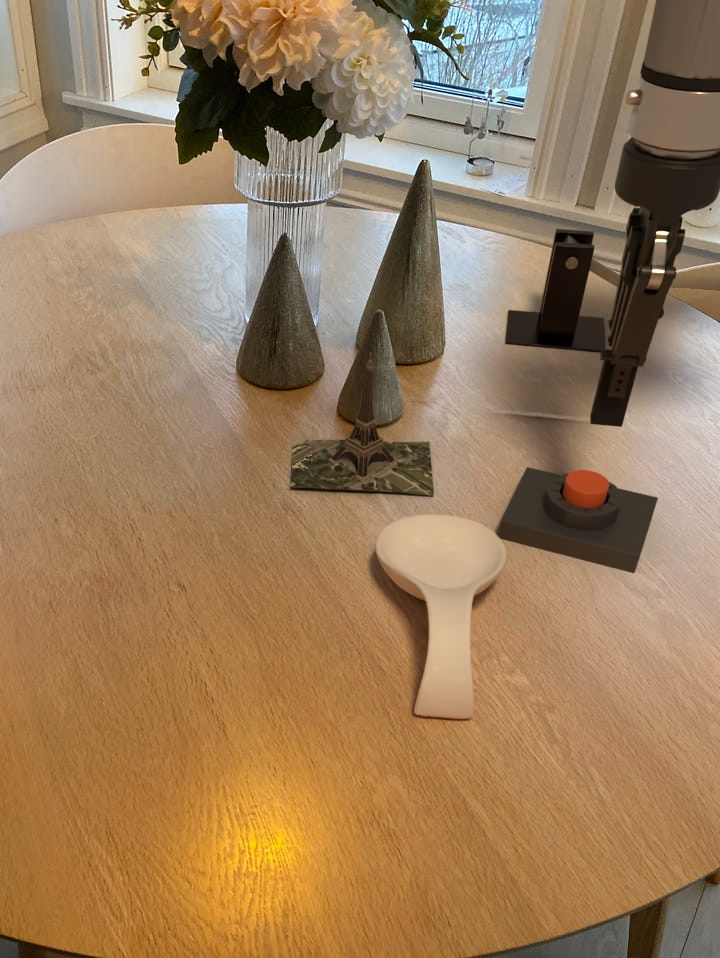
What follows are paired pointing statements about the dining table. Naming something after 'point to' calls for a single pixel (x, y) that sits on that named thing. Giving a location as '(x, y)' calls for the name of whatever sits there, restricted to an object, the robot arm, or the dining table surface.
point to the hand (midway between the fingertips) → (605, 420)
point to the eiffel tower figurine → (363, 458)
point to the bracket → (561, 302)
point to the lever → (602, 269)
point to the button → (585, 489)
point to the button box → (578, 522)
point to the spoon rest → (443, 597)
